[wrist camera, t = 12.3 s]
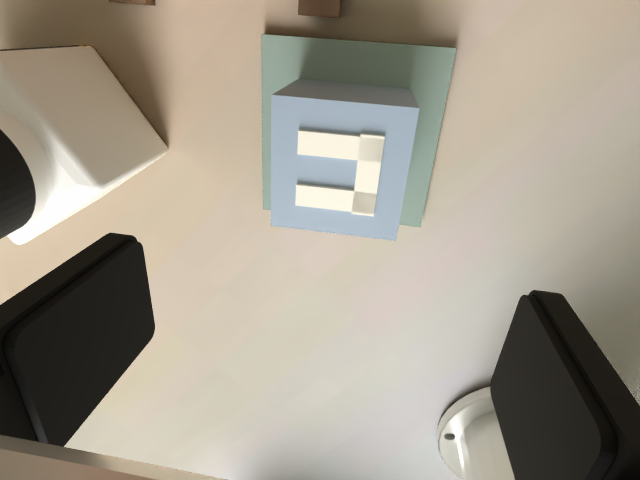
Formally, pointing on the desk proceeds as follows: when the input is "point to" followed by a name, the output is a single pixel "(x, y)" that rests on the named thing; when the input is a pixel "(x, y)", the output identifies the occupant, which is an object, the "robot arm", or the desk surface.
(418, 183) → the pad
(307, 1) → the screen
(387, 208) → the letter cube
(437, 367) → the desk surface
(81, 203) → the medicine bottle
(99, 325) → the robot arm
